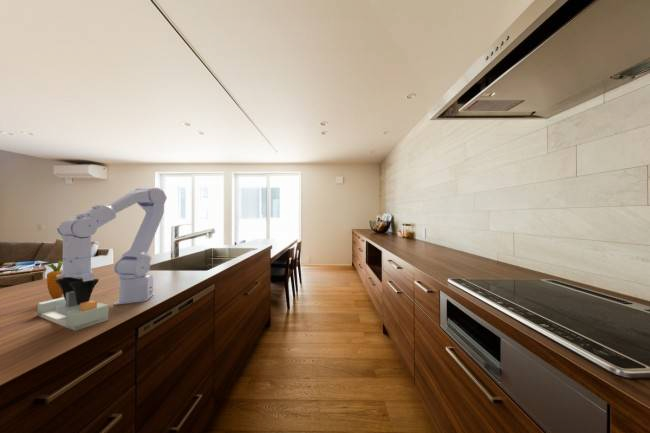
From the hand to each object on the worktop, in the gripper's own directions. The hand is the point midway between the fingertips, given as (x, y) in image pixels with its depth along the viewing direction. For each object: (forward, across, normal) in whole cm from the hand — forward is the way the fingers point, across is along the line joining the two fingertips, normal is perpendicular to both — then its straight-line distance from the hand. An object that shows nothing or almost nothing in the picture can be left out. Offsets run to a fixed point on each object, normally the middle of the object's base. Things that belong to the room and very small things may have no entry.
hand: (76, 301), depth 66 cm
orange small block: (+3, +7, 0) cm, 8 cm away
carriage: (+3, 0, 0) cm, 3 cm away
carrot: (+6, -28, +4) cm, 29 cm away
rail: (+5, -3, 0) cm, 6 cm away
